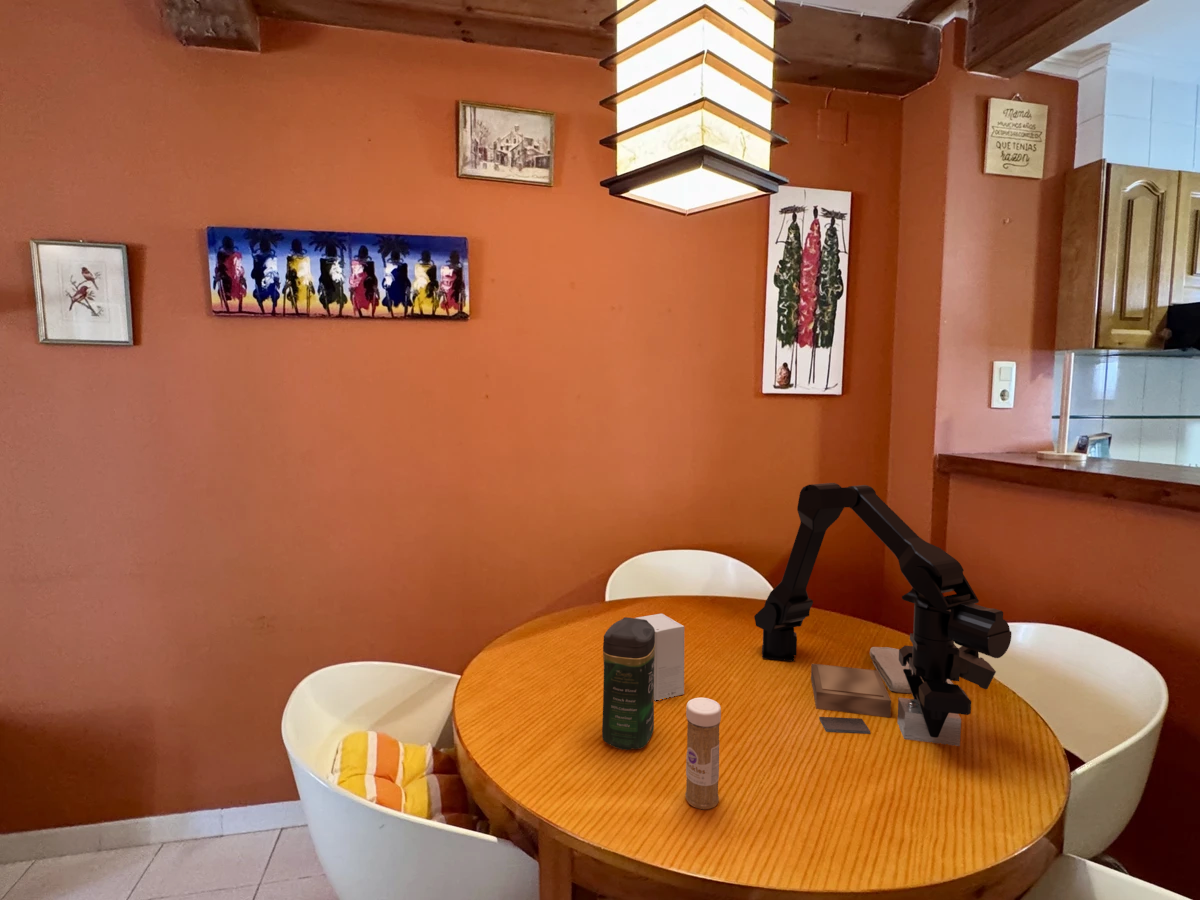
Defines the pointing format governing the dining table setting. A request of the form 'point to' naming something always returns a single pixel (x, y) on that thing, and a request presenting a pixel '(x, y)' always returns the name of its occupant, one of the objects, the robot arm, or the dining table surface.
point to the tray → (850, 690)
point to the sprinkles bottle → (702, 752)
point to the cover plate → (844, 725)
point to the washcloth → (891, 668)
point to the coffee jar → (628, 683)
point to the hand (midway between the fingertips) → (929, 728)
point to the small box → (667, 656)
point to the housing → (916, 727)
